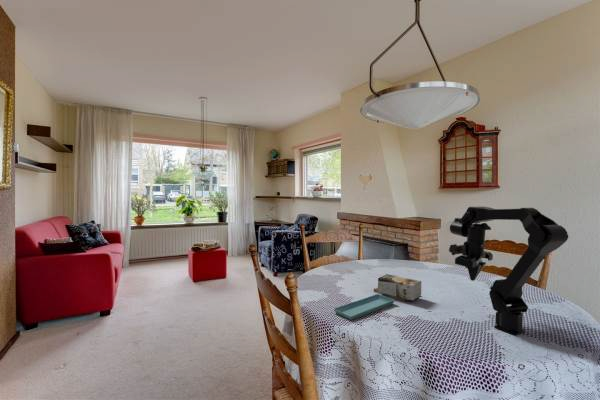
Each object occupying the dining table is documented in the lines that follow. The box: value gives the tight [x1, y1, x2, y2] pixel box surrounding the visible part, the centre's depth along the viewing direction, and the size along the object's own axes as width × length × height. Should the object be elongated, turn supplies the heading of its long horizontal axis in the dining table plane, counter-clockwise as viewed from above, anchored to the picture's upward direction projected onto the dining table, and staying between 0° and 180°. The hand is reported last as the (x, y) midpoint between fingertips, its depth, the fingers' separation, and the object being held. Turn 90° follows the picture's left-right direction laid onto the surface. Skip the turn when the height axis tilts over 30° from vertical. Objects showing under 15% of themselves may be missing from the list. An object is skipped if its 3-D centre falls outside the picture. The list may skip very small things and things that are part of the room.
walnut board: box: [373, 287, 410, 302], centre depth 133 cm, size 16×12×1 cm
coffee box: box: [377, 273, 422, 301], centre depth 129 cm, size 9×6×16 cm
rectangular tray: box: [333, 293, 396, 321], centre depth 116 cm, size 26×9×2 cm, turn 127°
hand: (472, 280), depth 112 cm, fingers closed
